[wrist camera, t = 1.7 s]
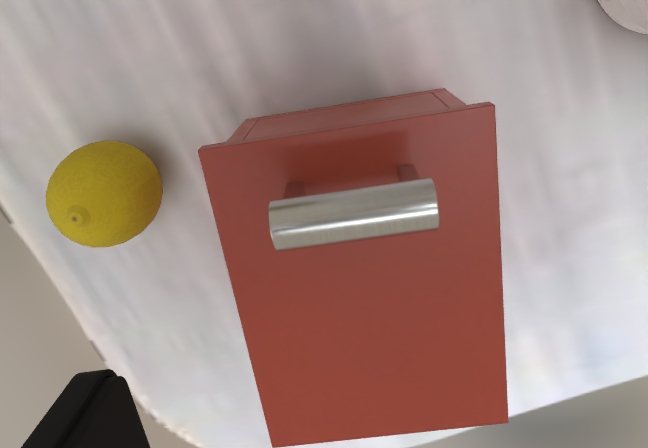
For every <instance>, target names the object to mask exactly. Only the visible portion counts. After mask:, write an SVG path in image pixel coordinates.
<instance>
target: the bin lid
mask: <svg viewBox="0 0 648 448" xmlns="http://www.w3.org/2000/svg"><path fill="white" fill-rule="evenodd" d="M198 153H199V157H200V161H201V165H202V169H203V173H204V177H205V181H206V185H207V189H208V193H209V197H210V201H211V205H212V209H213V213H214V217H215V221H216V225H217V229H218V233H219V237H220V241H221V245H222V249H223V253H224V257H225V261H226V265H227V268H228V272H229V276H230V280H231V284H232V288H233V292H234V296H235V300H236V304H237V308H238V312H239V316H240V320H241V324H242V328H243V332H244V336H245V340H246V344H247V348H248V352H249V356H250V360H251V364H252V368H253V372H254V376H255V380H256V384H257V388H258V392H259V396H260V400H261V404H262V408H263V412H264V416H265V420H266V424H267V428H268V432H269V436H270V440H271V444H272V447H273V448H276V447H285V446H295V445H304V444H314V443H323V442H333V441H342V440H351V439H361V438H370V437H380V436H389V435H399V434H408V433H417V432H427V431H436V430H446V429H455V428H465V427H474V426H483V425H492V424H502V423H508V403H507V380H506V356H505V332H504V309H503V285H502V261H501V238H500V214H499V190H498V167H497V143H496V119H495V105H494V104H492V103H491V102H484V103H477V104H471V105H464V106H458V107H451V108H445V109H438V110H432V111H425V112H419V113H413V114H406V115H400V116H393V117H387V118H380V119H374V120H367V121H361V122H354V123H348V124H341V125H335V126H328V127H322V128H315V129H309V130H302V131H296V132H289V133H283V134H277V135H270V136H264V137H257V138H251V139H244V140H238V141H231V142H225V143H218V144H212V145H205V146H202V147H201V148H200V149H199V150H198Z"/></svg>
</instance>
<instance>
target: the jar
mask: <svg viewBox="0 0 648 448" xmlns="http://www.w3.org/2000/svg"><path fill="white" fill-rule="evenodd" d="M598 1H599V3H600V5H601V6H602V8H603V9H604V11H605V12H606V13H607V14H608V15H609V16H610V17H611V18H612V19H613V20H614V21H615V22H617V23H618V24H620V25H621V26H623V27H625V28H627V29H629V30H632V31H635V32H638V33H642V34H648V0H598Z"/></svg>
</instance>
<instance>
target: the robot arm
mask: <svg viewBox="0 0 648 448" xmlns="http://www.w3.org/2000/svg"><path fill="white" fill-rule="evenodd" d="M21 448H150V446H149V443H148V440H147V437H146V435H145V431H144V429H143V426H142V423H141V420H140V418H139V415H138V412H137V409H136V406H135V403H134V401H133V398H132V395H131V392H130V389H129V387H128V384H127V382H126V380H125V378H124V377H122V376H117V375H116V373H115V372H114V371H113V370H110V369H106V370H99V371H91V372H83V373H78V374H76V375H75V376H74V377H73V378H72V379H71V381H70V382H69V384H68V385H67V386H66V388H65V389H64V390H63V392H62V393H61V394H60V396H59V397H58V398H57V400H56V401H55V403H54V404H53V405H52V407H51V408H50V409H49V411H48V412H47V413H46V415H45V416H44V418H43V419H42V420H41V421H40V423H39V424H38V425H37V427H36V428H35V429H34V431H33V432H32V434H31V435H30V436H29V438H28V439H27V440H26V442H25V443H24V444H23V446H22V447H21Z"/></svg>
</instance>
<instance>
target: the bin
mask: <svg viewBox="0 0 648 448" xmlns="http://www.w3.org/2000/svg"><path fill="white" fill-rule="evenodd" d="M464 105H466V104H465V103H463V102H462V101H461V100H459V99H458V98H457V97H455V96H454V95H453V94H451V93H450V92H449V91H447V90H446V89H445V88H443V89H436V90H430V91H424V92H417V93H411V94H404V95H398V96H392V97H385V98H379V99H373V100H366V101H360V102H354V103H347V104H341V105H335V106H328V107H322V108H316V109H309V110H303V111H297V112H290V113H284V114H277V115H271V116H265V117H258V118H252V119H246V120H245V121H244V122H243V123H242V124H241V125H240V127H239V128H238V129H237V130H236V131H235V132H234V134H233V135H232V136H231V137H230V138H229V140H228V141H227V142H231V141H238V140H244V139H251V138H257V137H264V136H270V135H277V134H283V133H289V132H296V131H302V130H309V129H315V128H322V127H328V126H335V125H341V124H348V123H354V122H361V121H367V120H374V119H380V118H387V117H393V116H400V115H406V114H413V113H419V112H425V111H432V110H438V109H445V108H451V107H458V106H464Z"/></svg>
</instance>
